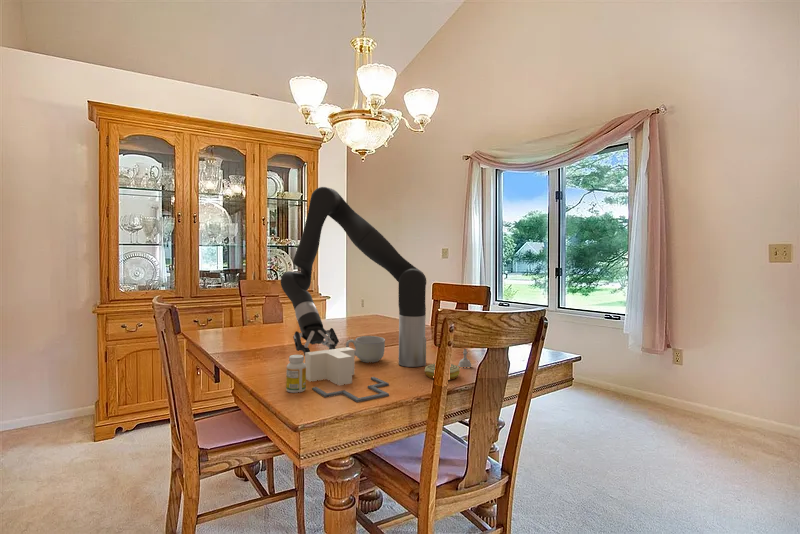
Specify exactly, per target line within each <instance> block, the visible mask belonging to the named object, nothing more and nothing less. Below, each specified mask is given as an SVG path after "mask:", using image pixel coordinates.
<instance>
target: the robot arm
mask: <svg viewBox="0 0 800 534" xmlns="http://www.w3.org/2000/svg"><path fill="white" fill-rule="evenodd" d="M327 217H329V218H331V219H332V220H333V221H334V222H335V223H337V224H338V225H339V226H340V227H341V229H343V231H344V232H345V234H346V235H347V236H348V238H349V240H350V241H351V242H352V243H353V245H354V246H355V247H357V249H359V250H360V251H361V253H362V254H364V256H366V257H367V258H369V260H372V261H373V262H374V263H375V264H377V265H378V266H380V267H381V268H383V269H384V270H385V271H387V272H388V273H389V274H390V275H391V276H392V277H393V278H394V279H395V280H396V281H397V283H398V317H399V318H398V365H399V366H401V367H408V368H417V367H422V366H423V367H426V366H427V337H426V319H427V318H426V310H427V308H426V307H427V306H426V292H427V291H426V288H427V287H426V286H427V277H426V275H425V273H424V272H423V271H422V270H420V269H418V268H417V267H416V266H414V265H413V264H412V263H410V262H409V261H408V260H407V259H405V258H404V257H403V256H402V255H401V254H400V253H399V252H398V250H397V249H396V248H395V247H394V246H393V245H392V244H391V242H390V241H388V239H387V238H386V237H385V236H384V235H383V234H382V233H381V232H379V230H377V229H376V228H375V226H373V225H372V224H371V223H369V221H368V220H366V219H365V218H363V217H362V216H361V215H359V213H357V212H356V211H355V210H354V209H353V208H352V207H351V206H350V205H349V204H348V203H347V202H346V200H345V199H344V198H343V197H342V195H341V194H340V193H339V192H338V191H336V190H335V189H334V188H330V187H326V186H320V187H317V188H315V190H314V191H313V192H311V195H310V200H309V206H308V211H307V216H306V220H305V225H304V228H303V231H302V234H301V235H302V236H301V238H300V241H299V243H298V246H297V249H296V251H295V254H294V256H293V259H292V260H293V261H292V263H293V265H294V266H296V267H297V268H299V269H300V272H296V271H286V272H284V273H283V274H282V275H281V278H280V287H281V288H282V291H283V292H284V294H285V295H286V297H287V298H288V299H289V301H290V302H291V303H292V307H293V309H294V313H295V319H296V321H297V323H298V327H299V330H300V332H299V331H295V332H294V335H293V337H292V338H293V341H294V345H295V349H296V351H297V352H300V351H301V352H303V356H305V353H306V352H311V351H310V347H309V345H310V344H311V345H319V344H320V345H323V346H326V347H327V348H328V350H330V349H337V348H336V347H337V346H338V344H339V342H340V341H339V338H338V336H337V334H336V331H335V329H334V328H332V327H330V329H325V328H324V324H323V322H322V318H321V317H320V313H319V311H318V308H317V307H316V305H315V302H314V300H313V297H312V294H311V293H310V292H309V291H308V290H309V289H310V287H311V284H312V274H313V273H312V271H313V265H314V262H315V259H316V258H317V254H318V252H319V251H318V250H319V247H320V243H321V242H320V240H321V233H322V229H323V226H324V223H325V221H326V219H327ZM302 339H304V341H305V343H304V344H302V341H301V340H302Z"/></svg>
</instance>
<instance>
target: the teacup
mask: <svg viewBox="0 0 800 534" xmlns="http://www.w3.org/2000/svg"><path fill="white" fill-rule="evenodd" d="M350 343H352V344H353V346H354V349H355V357H357V358H358V360H360V362H363V363H369V362H370V363H371V362H372V363H377V362H379V361H380V360H381V359H382V358H383V357H384V355H385V345H386V339H385V338H384V337H382V336H381V337H380V336H377V335H362V336H358V337H356V338H355V340H354V339H352V338H351V339H349V340H347V341H346V343H345V348H346V347H349V348H350V346H349V345H350Z"/></svg>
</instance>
